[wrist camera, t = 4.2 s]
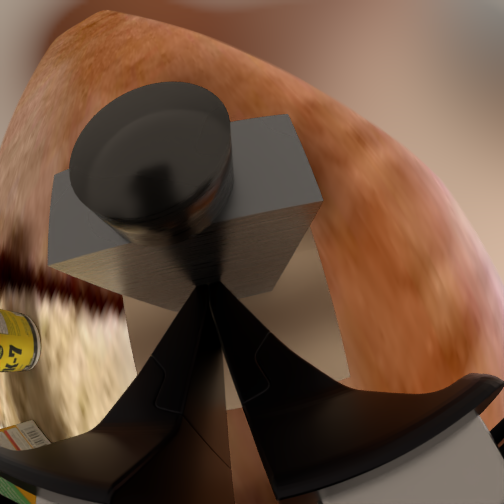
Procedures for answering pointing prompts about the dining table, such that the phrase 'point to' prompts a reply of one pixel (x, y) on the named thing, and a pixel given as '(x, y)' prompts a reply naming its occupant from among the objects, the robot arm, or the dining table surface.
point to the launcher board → (266, 319)
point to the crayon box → (20, 439)
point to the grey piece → (180, 198)
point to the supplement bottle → (18, 342)
